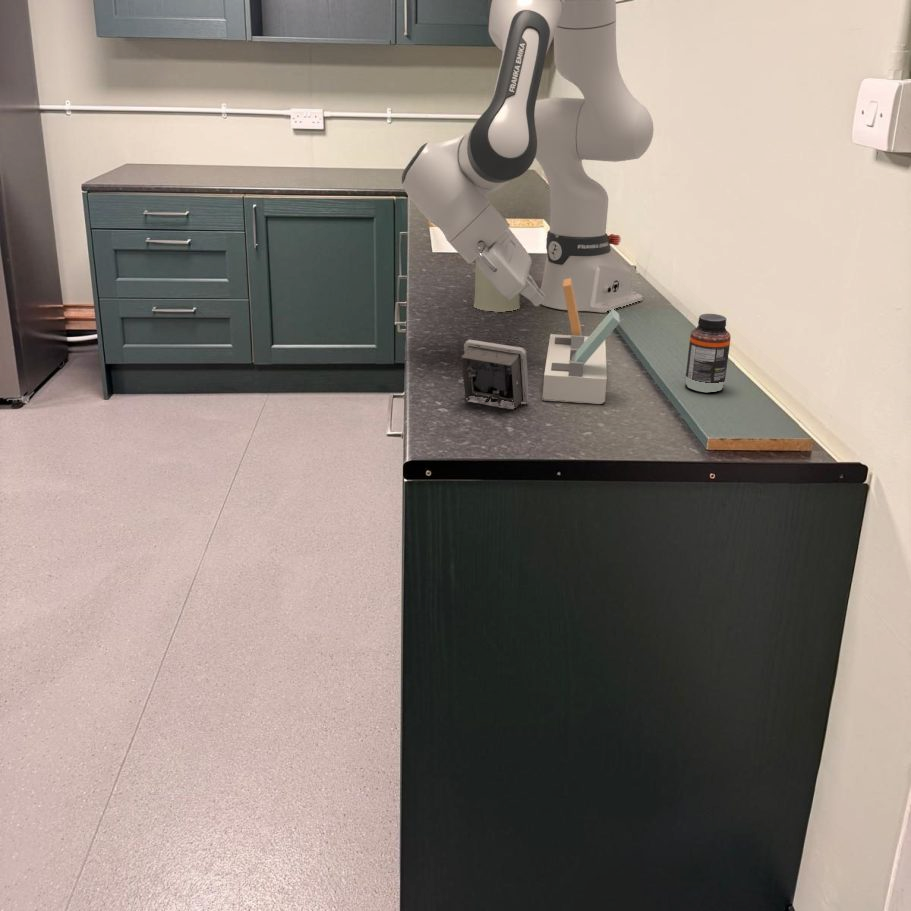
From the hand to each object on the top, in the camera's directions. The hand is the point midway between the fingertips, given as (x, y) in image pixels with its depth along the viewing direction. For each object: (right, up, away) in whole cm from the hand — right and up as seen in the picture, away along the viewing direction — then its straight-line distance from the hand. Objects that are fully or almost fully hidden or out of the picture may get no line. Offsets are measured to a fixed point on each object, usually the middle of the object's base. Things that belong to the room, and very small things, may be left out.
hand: (541, 301), depth 154 cm
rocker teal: (+4, -11, -11) cm, 16 cm away
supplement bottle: (+25, -14, -5) cm, 29 cm away
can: (-6, +5, +38) cm, 39 cm away
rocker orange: (+6, -5, +1) cm, 8 cm away
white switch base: (+5, -12, 0) cm, 13 cm away
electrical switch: (-8, -17, -14) cm, 24 cm away
